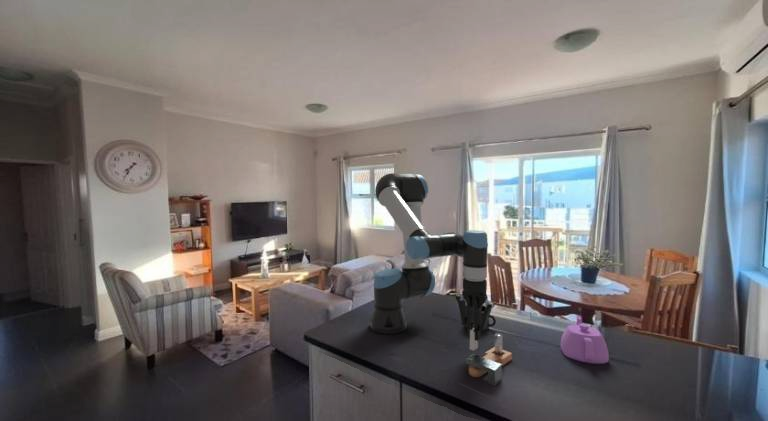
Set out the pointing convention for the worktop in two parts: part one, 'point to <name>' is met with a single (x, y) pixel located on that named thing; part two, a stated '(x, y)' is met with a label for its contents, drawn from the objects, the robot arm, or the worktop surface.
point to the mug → (488, 320)
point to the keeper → (487, 367)
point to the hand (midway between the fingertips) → (473, 348)
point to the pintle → (498, 344)
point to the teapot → (584, 343)
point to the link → (492, 356)
